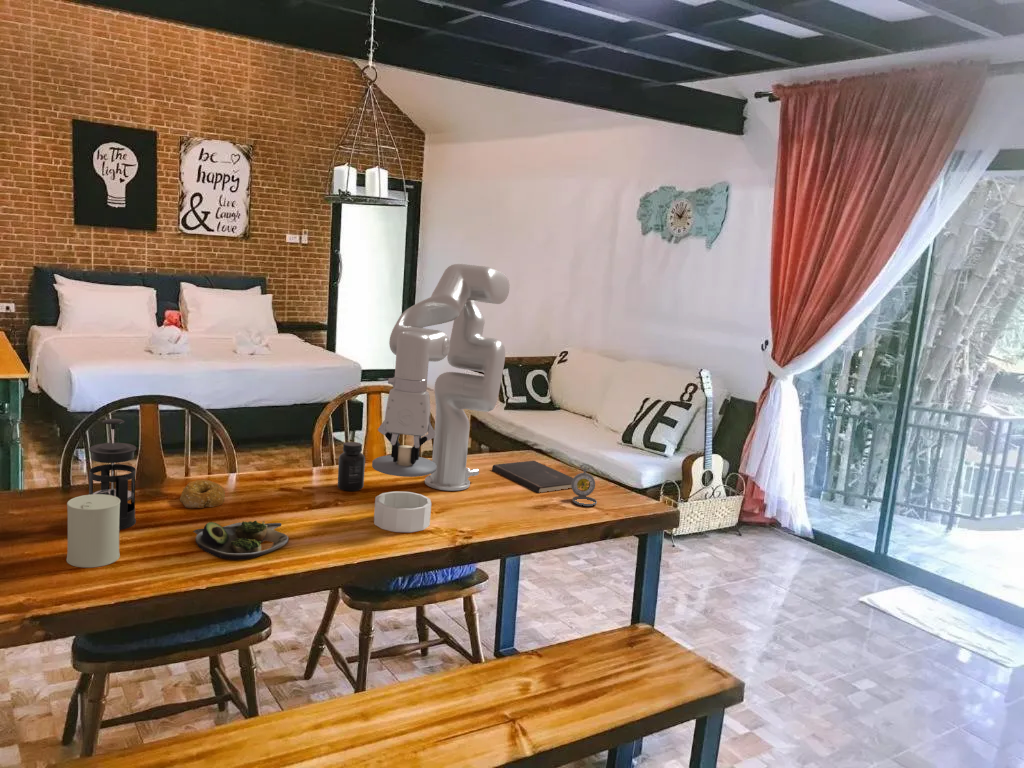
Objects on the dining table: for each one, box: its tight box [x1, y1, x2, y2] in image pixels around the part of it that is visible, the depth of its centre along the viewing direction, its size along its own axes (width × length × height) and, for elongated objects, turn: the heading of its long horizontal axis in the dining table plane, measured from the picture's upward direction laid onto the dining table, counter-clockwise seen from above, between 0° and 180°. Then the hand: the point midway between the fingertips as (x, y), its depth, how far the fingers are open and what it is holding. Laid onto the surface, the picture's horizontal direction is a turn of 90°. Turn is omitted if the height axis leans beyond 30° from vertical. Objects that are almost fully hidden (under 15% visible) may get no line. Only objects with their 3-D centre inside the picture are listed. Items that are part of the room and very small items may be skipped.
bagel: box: [179, 479, 226, 509], centre depth 194 cm, size 10×11×5 cm
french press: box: [88, 418, 137, 531], centre depth 174 cm, size 12×9×23 cm
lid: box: [371, 444, 436, 478], centre depth 191 cm, size 15×15×5 cm
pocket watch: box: [571, 463, 598, 507], centre depth 222 cm, size 8×8×10 cm
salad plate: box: [192, 520, 290, 561], centre depth 173 cm, size 19×18×5 cm
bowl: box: [373, 491, 432, 533], centre depth 193 cm, size 13×13×6 cm
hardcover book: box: [491, 460, 579, 494], centre depth 241 cm, size 16×23×2 cm
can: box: [66, 494, 121, 569], centre depth 157 cm, size 9×9×12 cm
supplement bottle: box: [337, 441, 366, 492], centre depth 215 cm, size 7×7×12 cm
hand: (404, 460), depth 191 cm, fingers closed on lid, 3 cm apart
